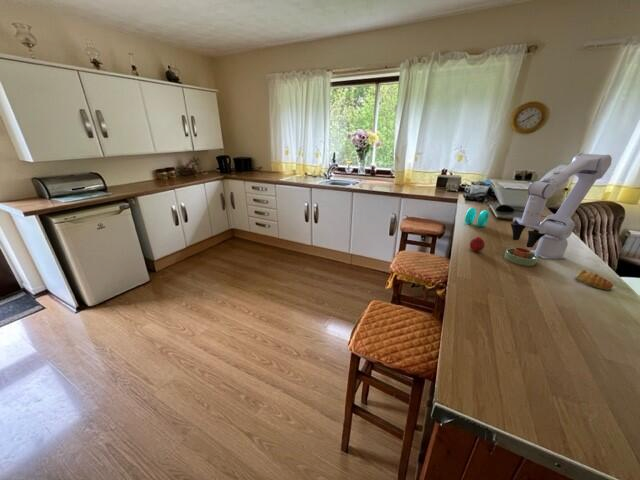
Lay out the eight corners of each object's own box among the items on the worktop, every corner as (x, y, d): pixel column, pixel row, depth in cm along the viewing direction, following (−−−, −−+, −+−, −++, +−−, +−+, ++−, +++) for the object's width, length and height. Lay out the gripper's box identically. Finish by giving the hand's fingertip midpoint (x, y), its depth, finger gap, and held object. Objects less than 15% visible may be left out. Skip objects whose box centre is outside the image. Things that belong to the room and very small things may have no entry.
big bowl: (521, 254, 115) (523, 247, 114) (542, 266, 105) (545, 259, 104) (498, 255, 115) (500, 248, 113) (516, 267, 105) (519, 259, 103)
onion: (484, 255, 114) (489, 238, 111) (470, 254, 115) (474, 237, 112) (479, 249, 120) (484, 234, 116) (466, 248, 121) (470, 233, 117)
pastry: (613, 287, 91) (618, 278, 90) (607, 293, 88) (612, 283, 86) (579, 275, 98) (583, 267, 97) (572, 280, 95) (576, 271, 94)
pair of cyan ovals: (468, 221, 159) (472, 205, 155) (486, 225, 152) (491, 209, 148) (462, 224, 152) (466, 208, 148) (480, 229, 146) (485, 212, 142)
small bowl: (520, 256, 112) (523, 247, 111) (530, 262, 107) (534, 253, 105) (508, 256, 112) (511, 247, 110) (518, 262, 107) (521, 253, 105)
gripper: (510, 207, 108) (501, 236, 114) (538, 217, 95) (526, 250, 100) (526, 207, 109) (516, 236, 114) (556, 217, 95) (543, 250, 100)
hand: (522, 243), depth 107 cm, fingers open, 7 cm apart
